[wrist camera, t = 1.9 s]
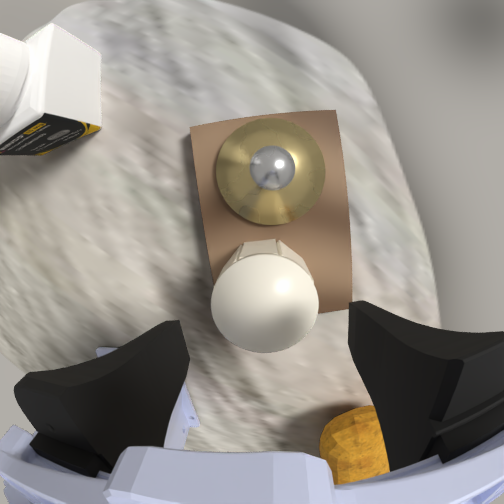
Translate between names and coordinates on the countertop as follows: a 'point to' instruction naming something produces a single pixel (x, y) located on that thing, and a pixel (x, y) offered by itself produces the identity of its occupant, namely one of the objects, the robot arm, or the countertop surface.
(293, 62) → the countertop surface
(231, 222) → the board
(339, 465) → the potato
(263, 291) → the cap
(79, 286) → the countertop surface
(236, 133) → the knob
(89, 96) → the medicine bottle
